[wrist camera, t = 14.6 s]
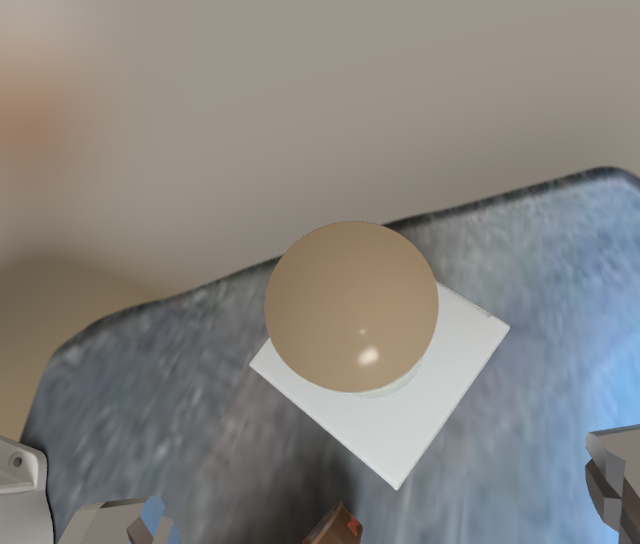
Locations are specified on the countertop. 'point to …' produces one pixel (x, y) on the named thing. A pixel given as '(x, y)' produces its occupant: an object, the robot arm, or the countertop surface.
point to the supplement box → (406, 404)
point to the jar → (352, 308)
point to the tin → (336, 528)
